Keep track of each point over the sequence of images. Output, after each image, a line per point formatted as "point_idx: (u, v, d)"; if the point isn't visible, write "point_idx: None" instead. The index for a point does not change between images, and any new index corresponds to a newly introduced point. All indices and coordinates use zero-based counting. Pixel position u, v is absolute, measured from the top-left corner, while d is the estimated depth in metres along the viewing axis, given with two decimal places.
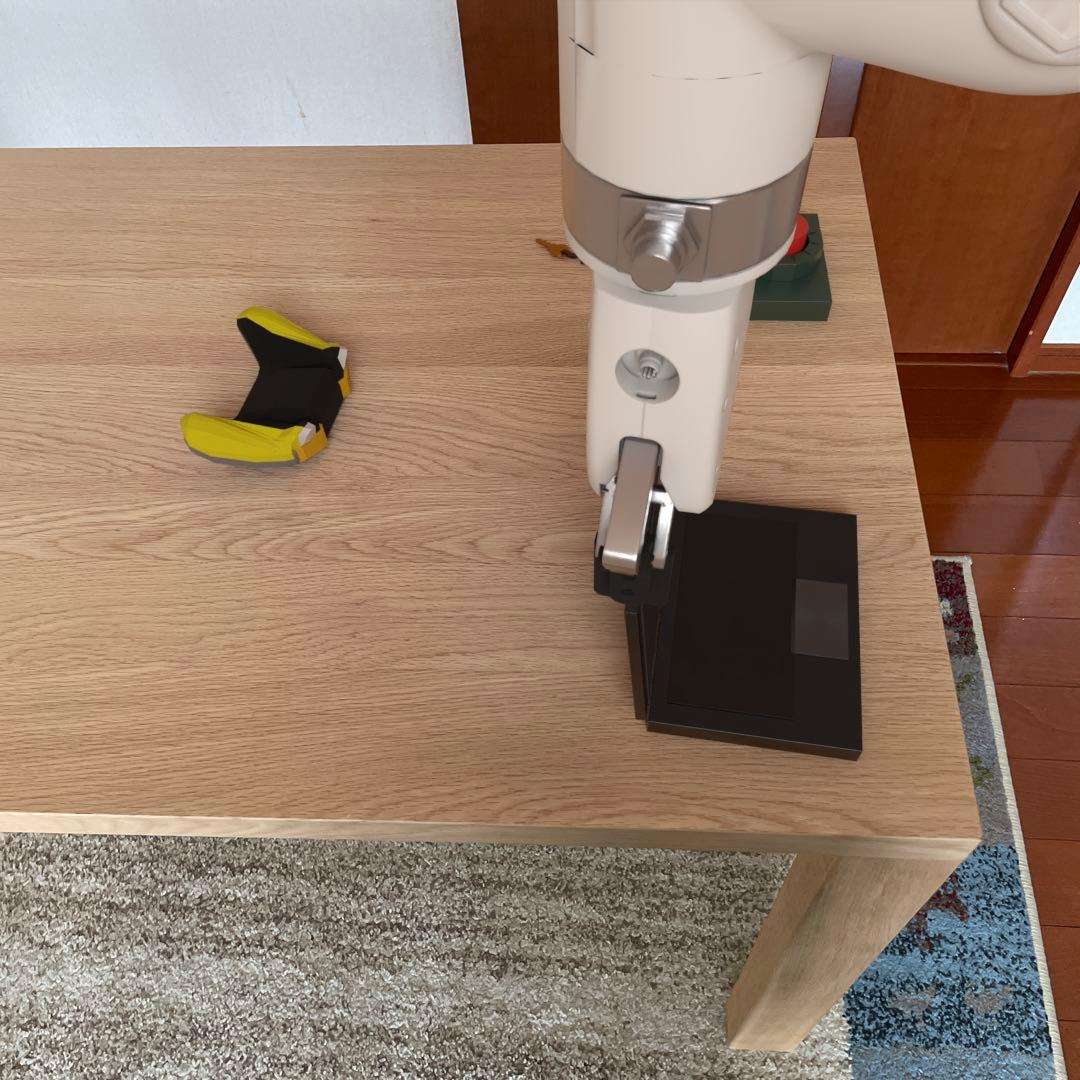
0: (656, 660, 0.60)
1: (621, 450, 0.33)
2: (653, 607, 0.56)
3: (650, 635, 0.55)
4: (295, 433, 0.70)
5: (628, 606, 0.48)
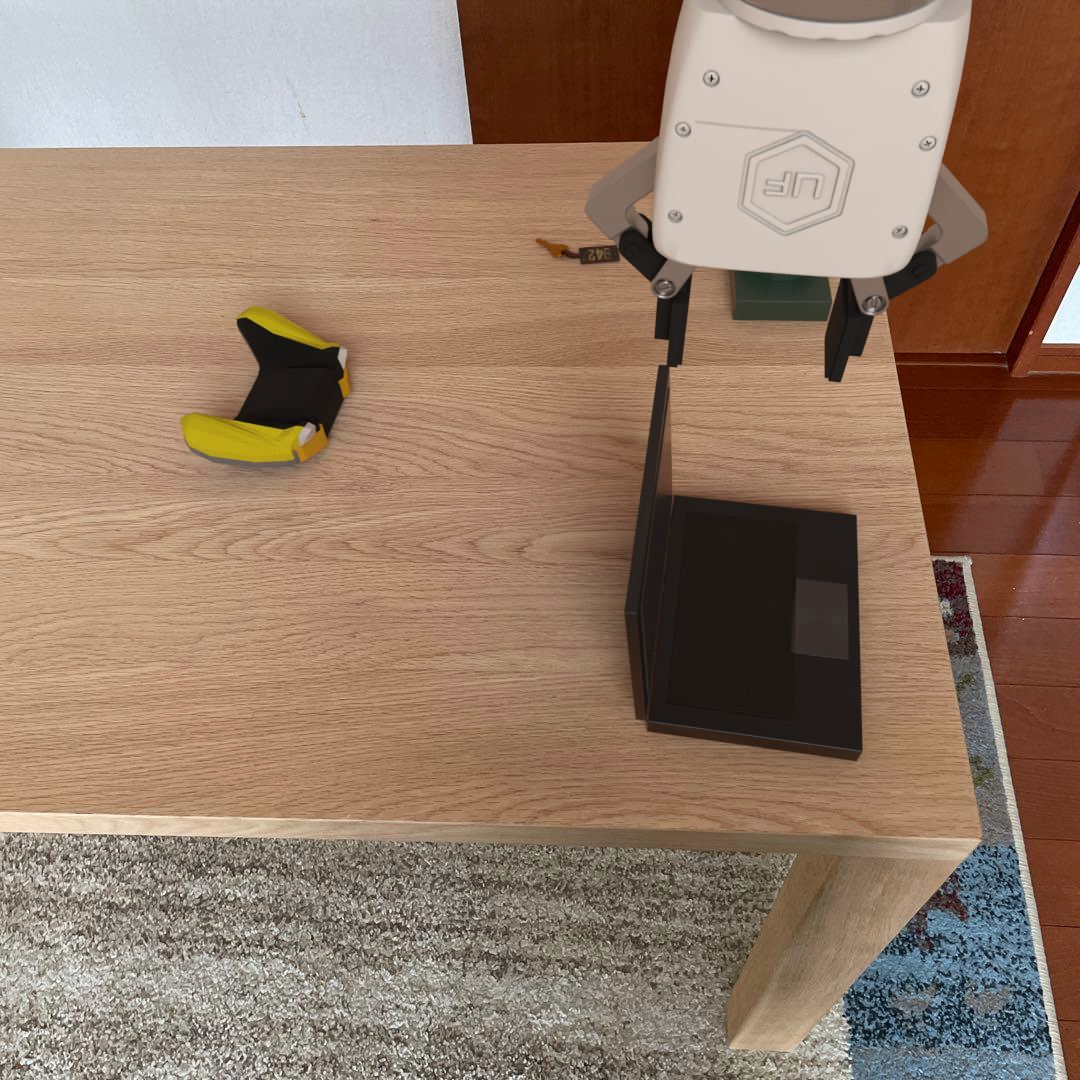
0: (656, 660, 0.60)
1: None
2: (653, 607, 0.56)
3: (650, 635, 0.55)
4: (295, 433, 0.70)
5: (628, 606, 0.48)
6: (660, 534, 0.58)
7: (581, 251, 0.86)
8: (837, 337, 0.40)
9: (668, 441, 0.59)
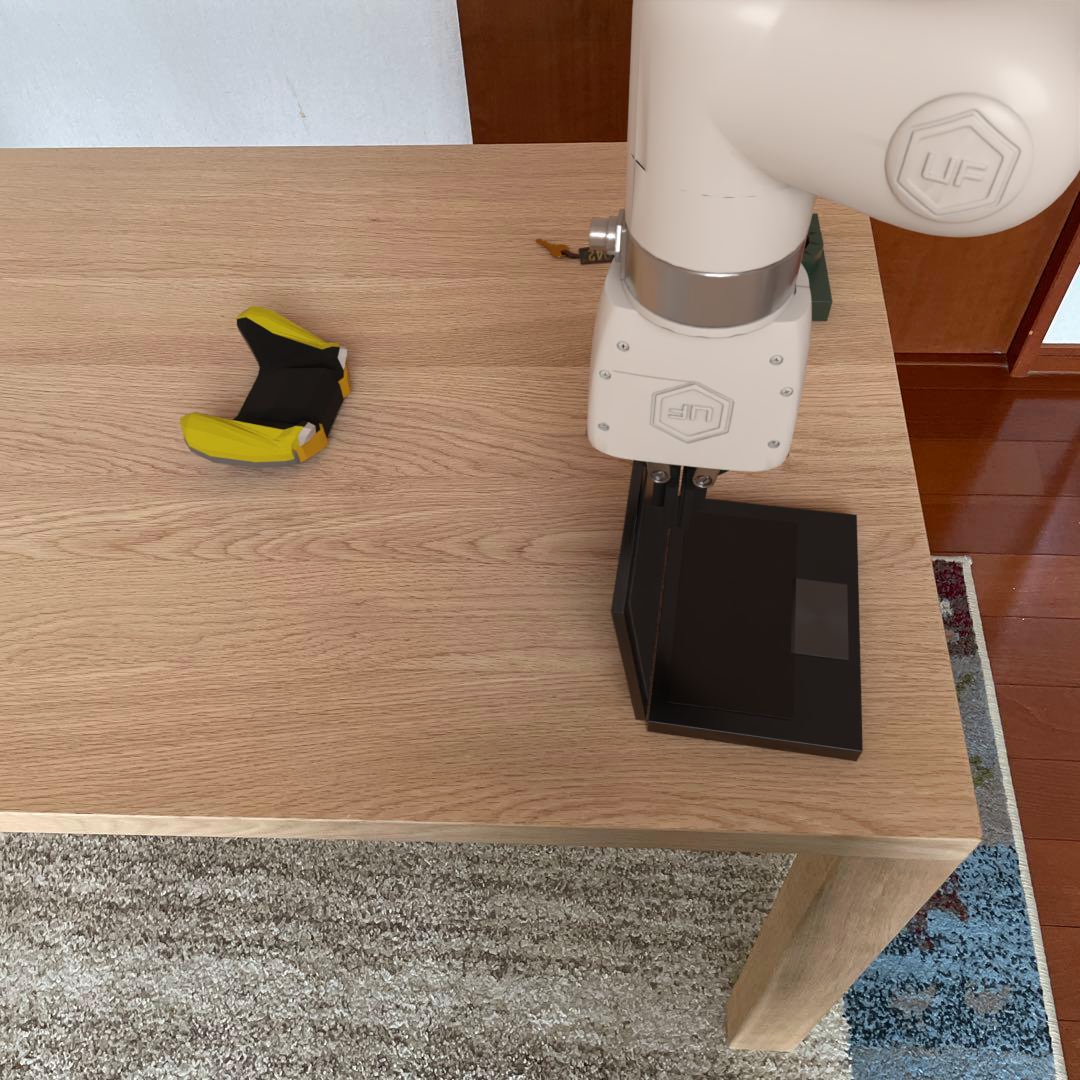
0: (656, 660, 0.60)
1: None
2: (648, 607, 0.56)
3: (645, 635, 0.55)
4: (295, 433, 0.70)
5: (615, 605, 0.48)
6: (654, 534, 0.58)
7: (581, 251, 0.86)
8: (680, 501, 0.52)
9: None
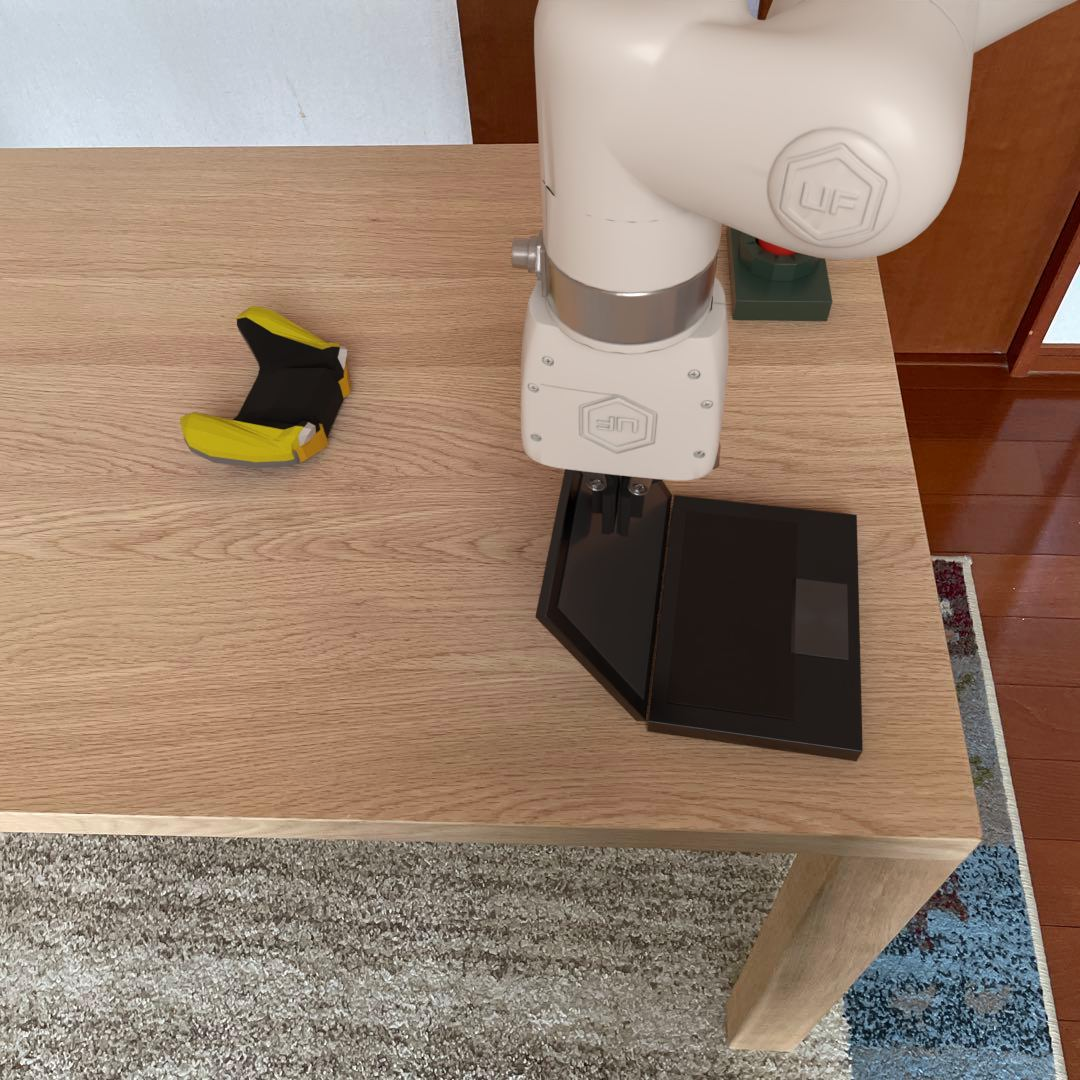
0: (656, 660, 0.60)
1: None
2: (619, 608, 0.57)
3: (617, 635, 0.56)
4: (295, 433, 0.70)
5: (538, 610, 0.50)
6: (620, 536, 0.59)
7: None
8: (617, 508, 0.53)
9: None
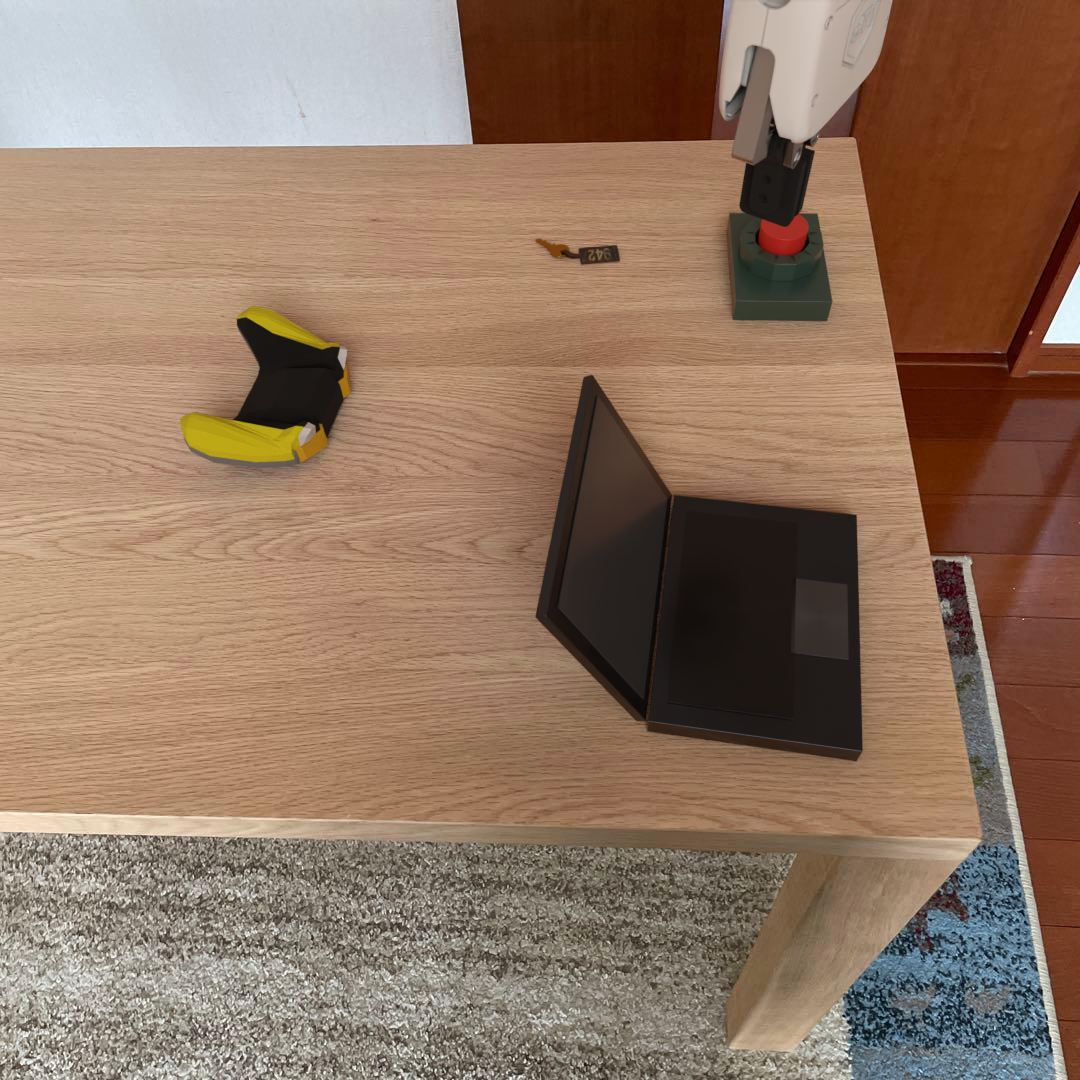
0: (656, 660, 0.60)
1: None
2: (619, 608, 0.57)
3: (617, 635, 0.56)
4: (295, 433, 0.70)
5: (538, 610, 0.50)
6: (620, 536, 0.59)
7: (581, 251, 0.86)
8: None
9: (616, 445, 0.61)
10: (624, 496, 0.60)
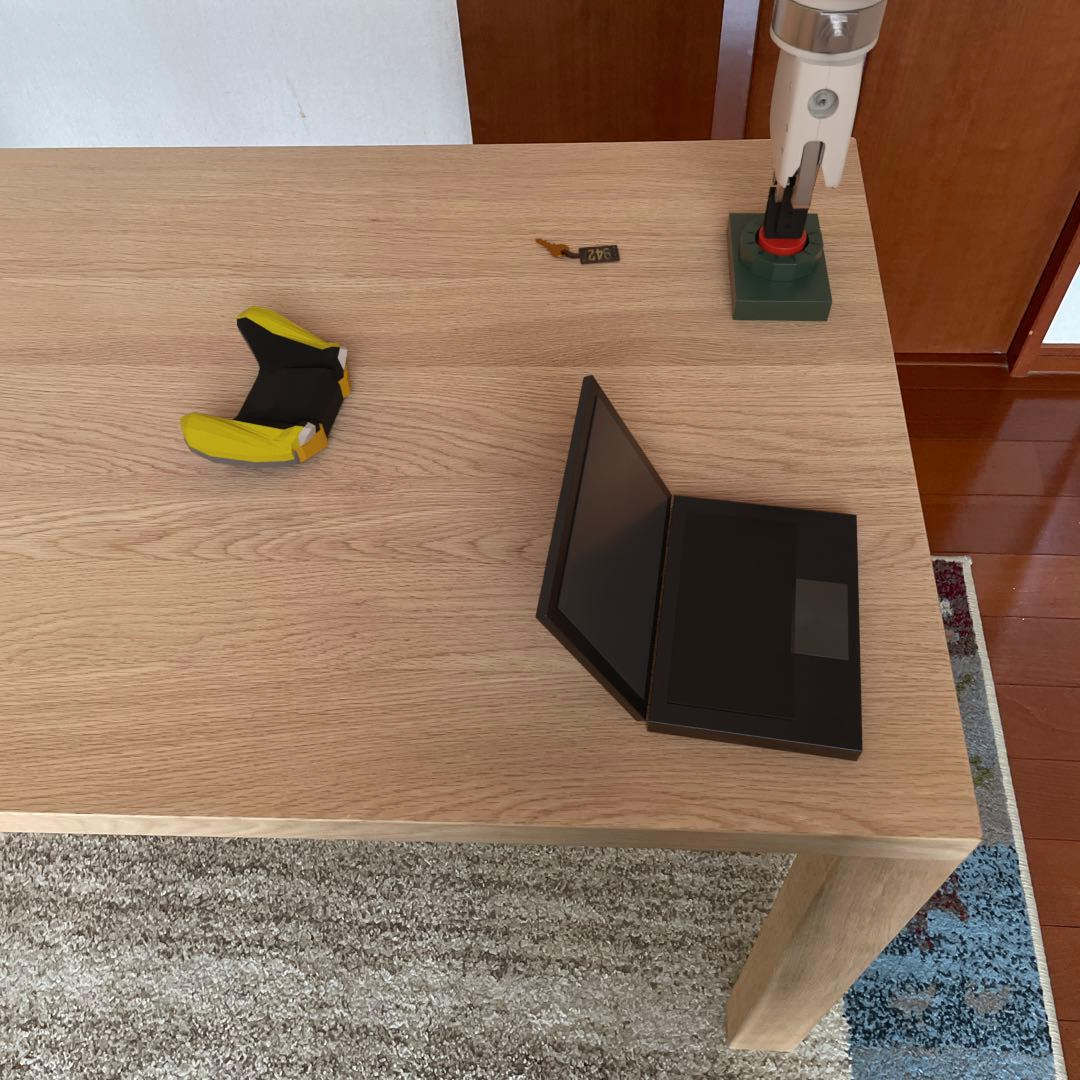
0: (656, 660, 0.60)
1: None
2: (619, 608, 0.57)
3: (617, 635, 0.56)
4: (295, 433, 0.70)
5: (538, 610, 0.50)
6: (620, 536, 0.59)
7: (581, 251, 0.86)
8: None
9: (616, 445, 0.61)
10: (624, 496, 0.60)
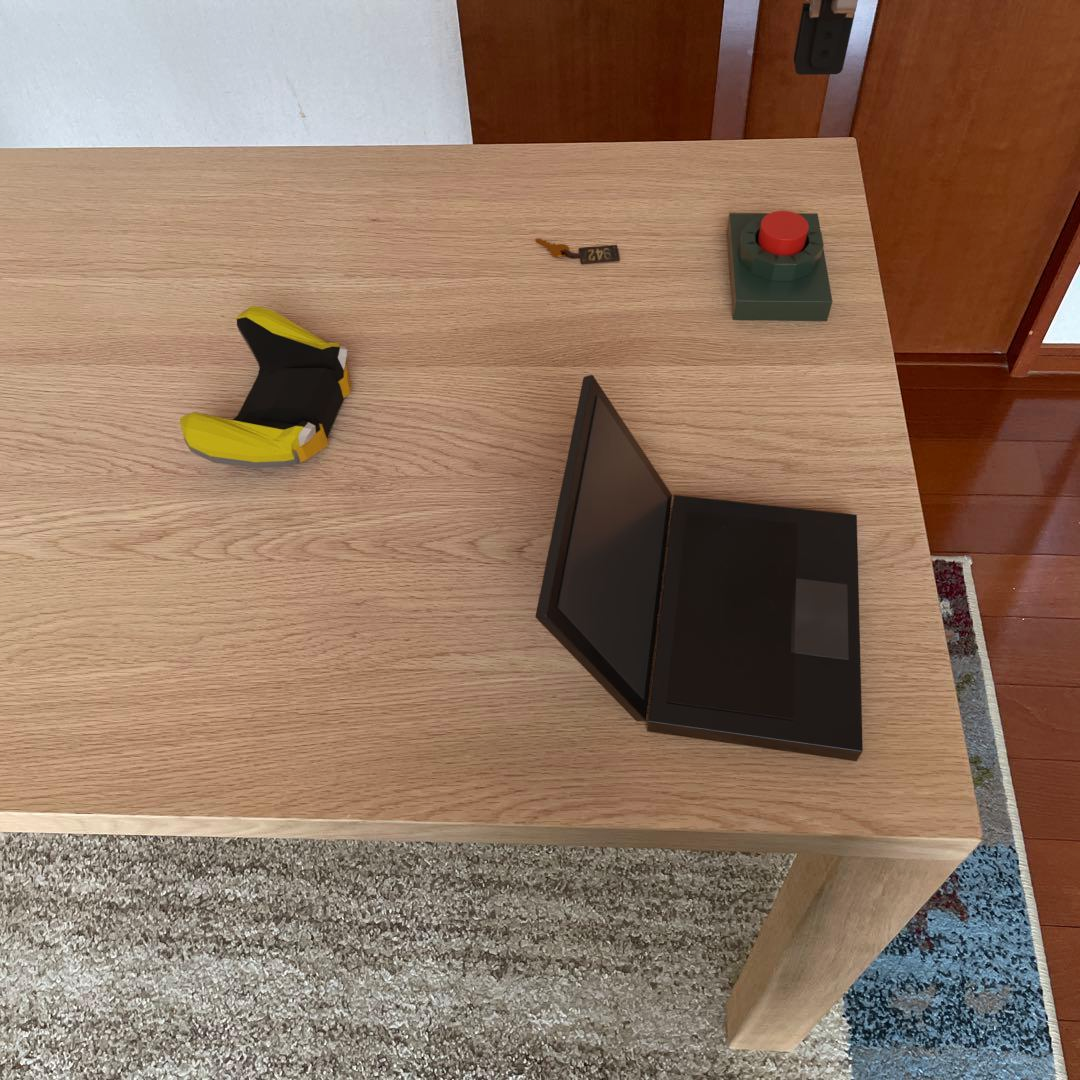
0: (656, 660, 0.60)
1: None
2: (619, 608, 0.57)
3: (617, 635, 0.56)
4: (295, 433, 0.70)
5: (538, 610, 0.50)
6: (620, 536, 0.59)
7: (581, 251, 0.86)
8: None
9: (616, 445, 0.61)
10: (624, 496, 0.60)
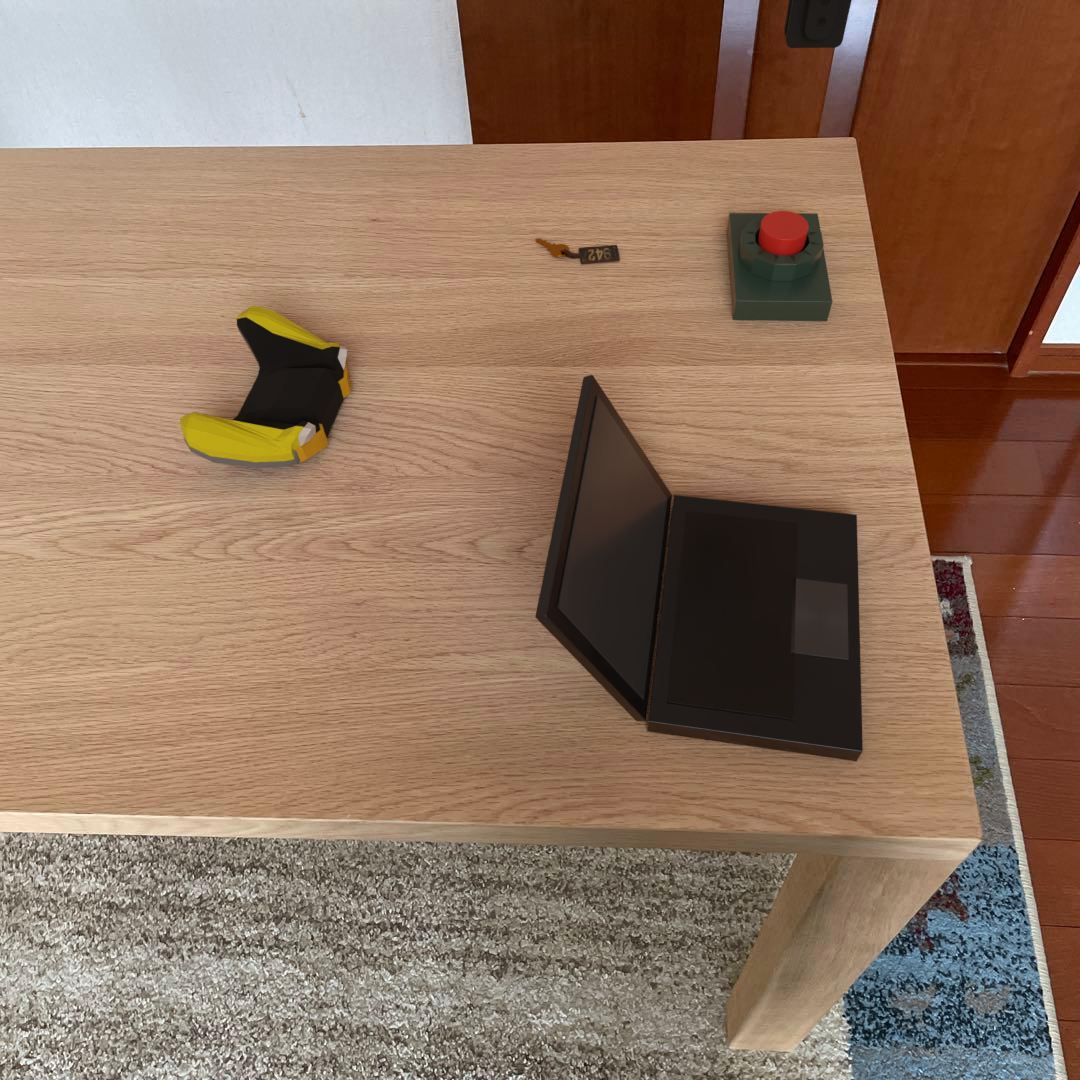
0: (656, 660, 0.60)
1: None
2: (619, 608, 0.57)
3: (617, 635, 0.56)
4: (295, 433, 0.70)
5: (538, 610, 0.50)
6: (620, 536, 0.59)
7: (581, 251, 0.86)
8: None
9: (616, 445, 0.61)
10: (624, 496, 0.60)
